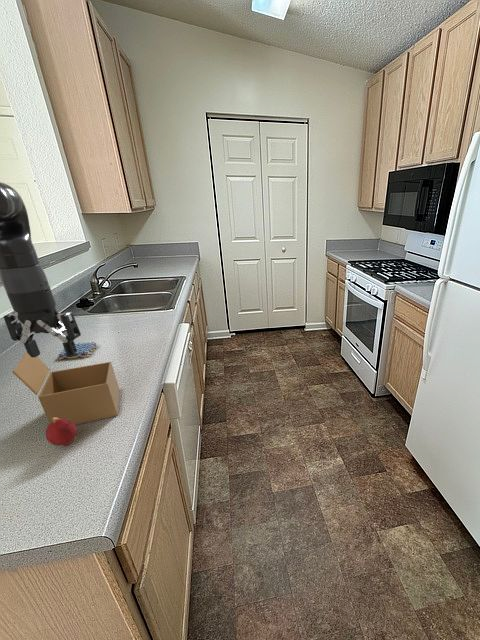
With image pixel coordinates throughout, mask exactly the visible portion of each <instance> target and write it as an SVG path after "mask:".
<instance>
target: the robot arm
mask: <svg viewBox="0 0 480 640" xmlns="http://www.w3.org/2000/svg"><path fill="white" fill-rule="evenodd" d="M0 281H1V283H2V286H3V288H4V290H5V293H6V295H7V298H8V300H9V303H10V305H11V308H12V310H13V312H10V313H7V314H6V315H3V320H4V323H5V325H6V327H7V331H8V333H9V335H10V339H11V340H12V341H14V342H15V341H18V342H20V343H22V344H23V346H24V348H25V350H26V352H27V353H28V354H29V355H30V356H31V357H39V356H40V355H41V351H40V348H39V346H38V344H37V341H36V339H34V338H35V337H36V334H41V333H42V334H50V335H52V337H57V338H58V339H59V341H61V342H62V346H63V349H65V352H66V354H67V357H73V356H74V355H75V354H76V352H77V349H76V347H75V344H76V343H75V341H74V340H76V339H77V338H79V337H81V336H82V333H81V331H80V327H79V326H78V323H77V320H76V318H75V315H74V313H73V312H72V311H66V312H63V313H60V312H58V311H57V309H56V305H57V303H56V301H55V298H54V295H53V292H52V288H51V286H50V283H49V281H48V277H47V275H46V273H45V270H44V269H43V267H42V264H41V263H40V259H39V256H38V254H37V251H36V248H35V246H34V244H33V241H32V232H31V225H30V220H29V214H28V209H27V207H26V204H25V202H24V200H23V199H22V196H21V194H19V193H18V191H17V190H16V189H15V188H14V187H12V186H11V185H9V184H8V183H5V182H2V181H0ZM22 324H23V325H22ZM57 328H58V329H57Z"/></svg>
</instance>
